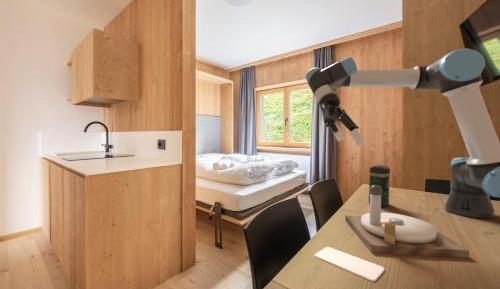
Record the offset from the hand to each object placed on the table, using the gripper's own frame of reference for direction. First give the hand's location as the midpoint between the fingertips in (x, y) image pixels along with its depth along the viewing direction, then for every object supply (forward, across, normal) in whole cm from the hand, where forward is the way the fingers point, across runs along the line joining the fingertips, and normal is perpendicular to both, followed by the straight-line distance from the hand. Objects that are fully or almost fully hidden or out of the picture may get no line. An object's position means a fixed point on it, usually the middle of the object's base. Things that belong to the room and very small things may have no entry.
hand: (352, 142), depth 82 cm
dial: (+30, -5, -3) cm, 31 cm away
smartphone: (+35, +21, -8) cm, 42 cm away
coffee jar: (+18, -37, -18) cm, 45 cm away
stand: (+32, -5, -5) cm, 33 cm away
